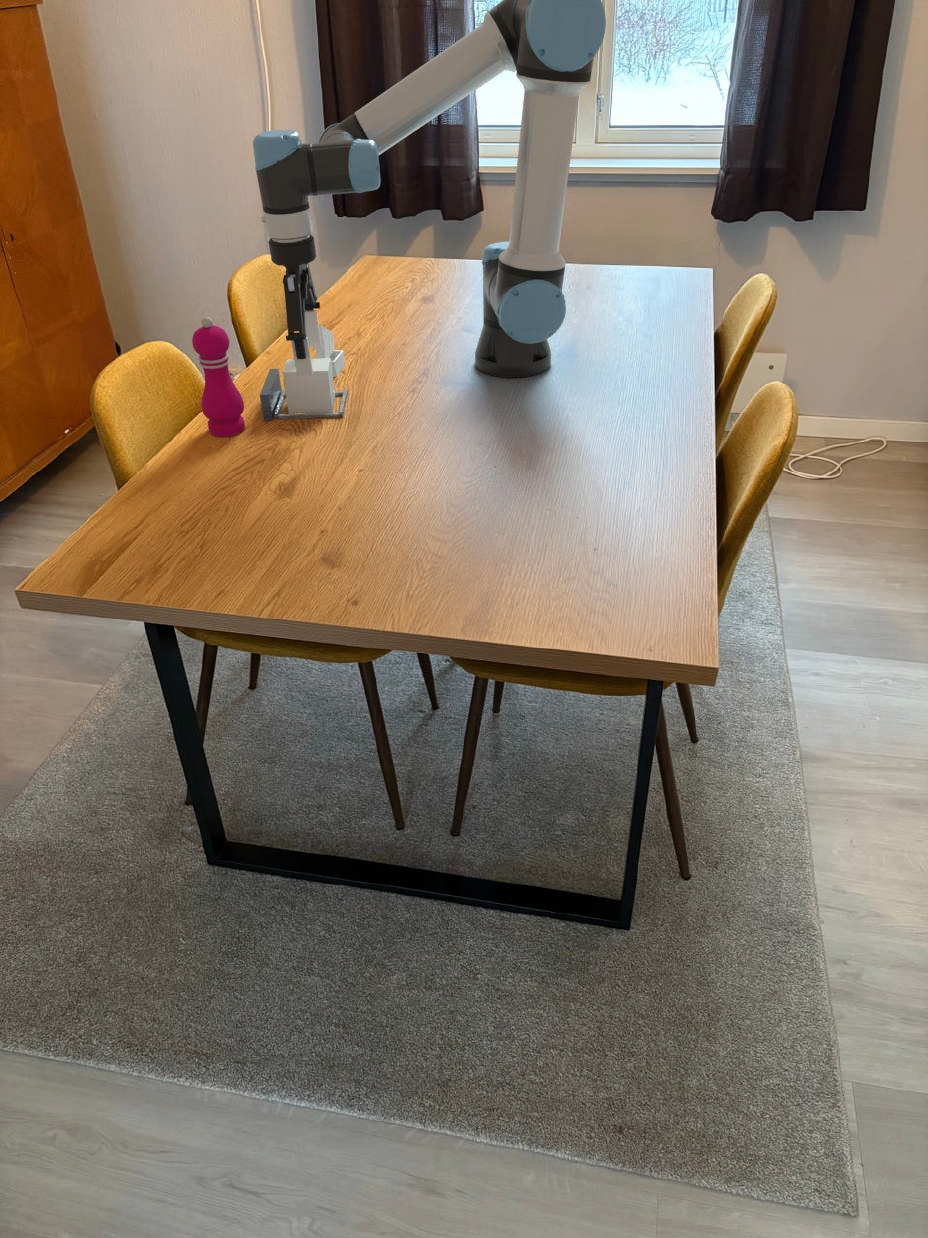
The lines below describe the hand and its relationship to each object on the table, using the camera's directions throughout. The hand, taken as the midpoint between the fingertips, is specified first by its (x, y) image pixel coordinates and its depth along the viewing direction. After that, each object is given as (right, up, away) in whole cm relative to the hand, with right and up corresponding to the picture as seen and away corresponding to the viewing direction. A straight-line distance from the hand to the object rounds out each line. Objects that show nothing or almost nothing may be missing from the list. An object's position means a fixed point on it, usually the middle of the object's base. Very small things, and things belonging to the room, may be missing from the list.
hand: (309, 360), depth 168 cm
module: (0, -7, +5) cm, 9 cm away
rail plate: (0, -7, +5) cm, 9 cm away
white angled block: (+1, +3, +19) cm, 19 cm away
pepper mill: (-14, -13, -2) cm, 19 cm away
